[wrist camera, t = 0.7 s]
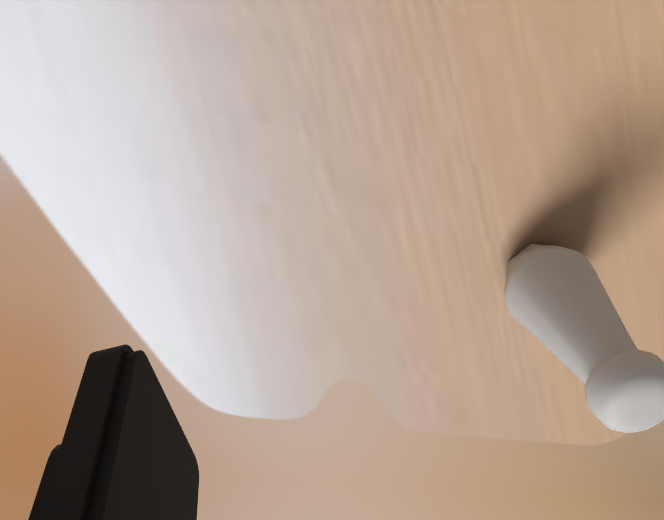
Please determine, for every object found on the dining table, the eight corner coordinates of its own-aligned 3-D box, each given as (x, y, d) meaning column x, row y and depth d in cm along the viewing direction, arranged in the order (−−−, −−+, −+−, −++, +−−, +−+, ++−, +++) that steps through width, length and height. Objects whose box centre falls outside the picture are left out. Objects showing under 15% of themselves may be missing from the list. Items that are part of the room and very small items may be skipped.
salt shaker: (475, 270, 40) (567, 415, 29) (547, 213, 39) (672, 344, 28) (522, 318, 43) (622, 467, 32) (591, 267, 41) (721, 404, 30)
